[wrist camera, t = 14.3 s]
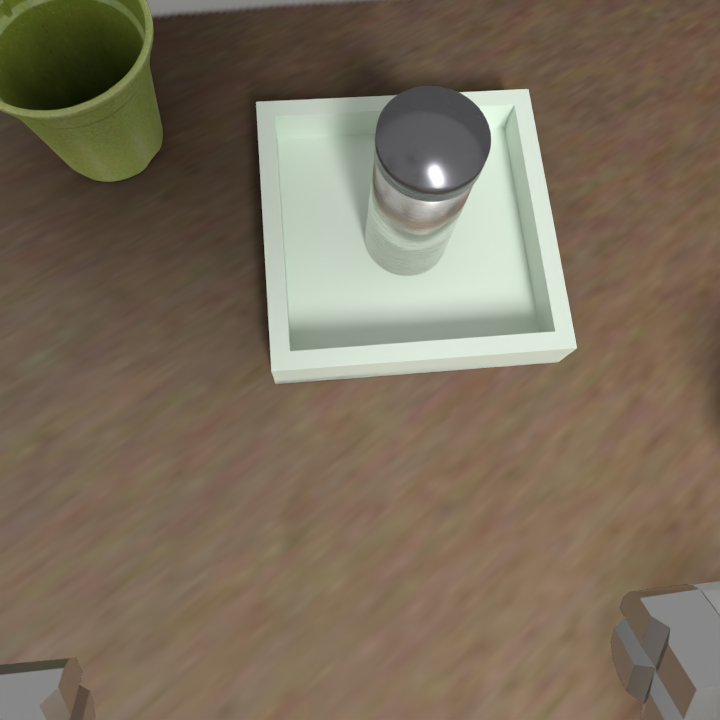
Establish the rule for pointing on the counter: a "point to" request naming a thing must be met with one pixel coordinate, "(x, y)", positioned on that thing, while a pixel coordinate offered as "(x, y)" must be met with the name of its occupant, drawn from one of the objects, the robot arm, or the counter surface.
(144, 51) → the plant pot
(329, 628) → the counter surface
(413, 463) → the counter surface
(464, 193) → the shaker
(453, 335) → the tray
